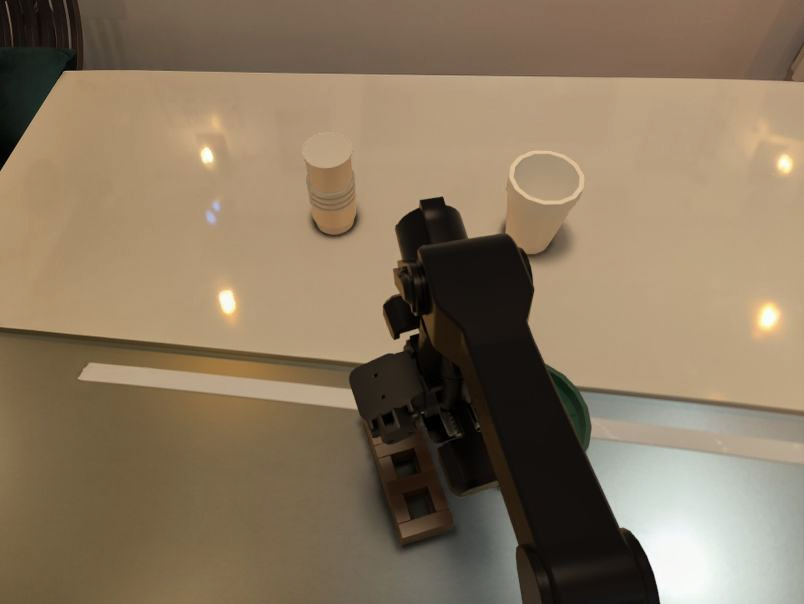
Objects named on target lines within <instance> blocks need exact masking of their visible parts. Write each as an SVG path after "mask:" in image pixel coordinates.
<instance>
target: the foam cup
mask: <svg viewBox="0 0 804 604" xmlns="http://www.w3.org/2000/svg"><path fill="white" fill-rule="evenodd" d="M507 175H508V176H507V181H506V186H505V190H506V192H507V193H506V194H507V195H506V214H505V215H506V216H505V217H506V218H505V231H504V232H505V233H504V234H508V235H509V236H511V237H512V238H513V239H514V241H515V243H516V244H517V246H518V247H521V248H522V249H523V250H524V251H525V252H526V254H527V255H537V254H540V253H541V252H544V251H545V250H546V249H547V247H548V246H549V245H550V243H551V242H552V240H553V239H554V237H555V236H556V234H557V232H558V231H559V229H560V228H561V227H562V224H563V223H564V221H565V220H566V219H567V217H568V216H569V213H570V212H571V211H572V210H573V208H574V207H575V206H576V204H577V203H579V201H580V199H581V196H582V194H583V191H584V188H585V175H584V172H583V171H582V169H581V168H580V166H579V164H578V163H577V162H575V161H574V160H572V159H571V158H570V157H568V156H567V155H565V154H562V153H559V152H555V151H553V150H552V151H551V150H531V151H529V152H526V153H523V154H520V155H519V156H518V157H517V158H516V159H515V160H514V161H513V162H512V163H511V164H510V167H509V171H508V174H507Z"/></svg>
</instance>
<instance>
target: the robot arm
mask: <svg viewBox="0 0 804 604" xmlns="http://www.w3.org/2000/svg"><path fill="white" fill-rule="evenodd" d="M418 202H419V204H418V207H417V208H415V209H413V210H411V211H409V212H408V213H406V214H405V215H404V216H402V218H401V219H400V220H399V221H398V223H396V224H395V226H394V233H395V235H396V241H397V244H398V248H399V253H400V257H401V259H399V260H397V267H394V268H392V273H393V280H394V286H395V287H396V289H397V291H398V292H399V293H397V294H393V295H391V296H390V297H389V298H388V299H386V300H385V301H384V303H383V304H382V316H383V319H384V321H385V323H386V327H387V330H388V332H389V334H390V337H391V339H392V340H393V341H396V340H400V339H401V334H405V333H409V332H412V331H415V330H418V333H414V334H411V335H409V339H406V340H405V344H404V345H403V348H402V351H399V352H396V353H392V352H388V353H385V354H383V355H381V356H379V357H376V358H374V359H372V360H370V361H368V362H366V363H363V364H361V365H359V366H356V367H355V368H354V369H352V370H351V371H350V373H349V375H348V383H349V386H350V390H351V392H352V396H353V399H354V402H355V405H356V408H357V411H358V414H359V416H360V418H361V419H363V421H364V420H366V421H367V424H368V427H369V430H370V433H371V436H372V438H378V437H381V440H382V442H383V443H385V444H387V445H392V444H395V443H397V442H400V441H402V440H405V439H407V438H409V437H412V436H414V435H415V434H416V433H417V432H418V429H417V426H416V422H417V420H418V421H419V420H421V419H422V421H423V424H424V427H425V430H426V432H428V435H429V437H430V439H431V440H430V439H429V440H430V441H431V442H432V443H435V444H441V445H440V446H438V447H437V448H436V451H435V452H436V456H437V460H438V464H439V467H440V469H441V472H442V475H443V477H444V480H445V483H446V486H447V488H448V490H449V494H450V495H452V496H454V497H456V498H458V499H462V498H466V497H468V496H471V495H474V494H477V493H481V492H483V491H487V490H489V489H490V490H491V489H493V488H496V487H499V491H500V493H501V496H502V499H503V502H504V505H505V509H506V512H507V514H508V517H509V520H510V524H511V526H512V530H513V533H514V536H515V540H516V542H517V546H516V547H515V564H516V565H515V566H516V571H517V572H516V573H517V577H518V578H517V579H518V585H519V590H520V591H519V592H520V597H521V603H522V604H661V598H660V593H659V588H658V584H657V580H656V576H655V572H654V570H653V567H652V565H651V563H650V560H649V557H648V555H647V553H646V551H645V548H643V545H642V544H641V542H640V541H639V539H638V538H637V537H636V536H635V534H634V533H633V532H632V531H631V530H630V529H627V528H626V527H623V526H622V527H620V524H619V523H618V520H617V518H616V516H615V514H614V512H613V509H612V507H611V505H610V503H609V500H608V498H607V496H606V493H605V492H604V489H603V486H602V485H601V483H600V481H599V477H598V476H597V474H596V471H595V470H594V468H593V466H592V463H591V461H590V459H589V456H588V454H587V451H586V452H585V450H584V448H583V445H582V443H581V441H580V439H579V437H578V434H577V432H576V430H575V428H574V426H573V424H572V421H571V419H570V417H569V415H568V413H567V410H566V408H565V406H564V404H563V402H562V399H561V397H560V395H559V393H558V391H557V388H556V386H555V384H554V382H553V380H552V377H551V375H550V373H549V371H548V369H547V366H546V364H547V363H546V362H545V360H544V357H543V356H542V353H541V351H540V349H539V346H538V345H537V343H536V340H535V337H534V335H533V332H532V329H531V327H530V324H529V322H530V316H531V310H532V307H533V301H534V296H535V295H534V294H535V286H534V276H533V275H534V274H533V270H532V265H531V261H530V259H529V256H528V254H526V252H525V251H524V250H523V249H522V248H521V247H518V246H517V244H516V243H515V241H514V239H513V238H512V237H511V236H509V235H508V234H505V233H495V234H489V235H482V236H477V237H470V238H469V235H468V233H467V230H466V226H465V224H464V221H463V218H462V215H461V213H460V211H459V210H458V209H457V208H455V207H453V206H451V205H447V204H446V201H445V197H444V196H435V197H430V198H424V199H423V198H422V199H419V201H418ZM428 435H427V436H428Z"/></svg>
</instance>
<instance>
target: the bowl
mask: <svg viewBox="0 0 804 604" xmlns="http://www.w3.org/2000/svg"><path fill="white" fill-rule="evenodd" d="M545 364H546V366H547V369H548V371H549V373H550V375H551V377H552V380H553V382H554V384H555V386H556V388H557V391H558V393H559V395H560V397H561V399H562V402H563V404H564V406H565V408H566V410H567V413H568V415H569V417H570V419H571V421H572V424H573V426H574V428H575V430H576V432H577V434H578V437H579V439H580V441H581V443H582V445H583V448H584V450H585V452H586V453H587V450H588V449H589V447H590V444H591V435H592V429H593V428H592V427H593V425H592V421H591V415H590V411H589V407H588V405H587V403H586V401H585V399H584V397H583V395H582V394H581V391H580V390H579V388H578V387H577V386H576V385H575V384H574V383H573V382H572V381H571V380H570V379H569V378H568V377H567V376H566V375H565V374H564V373H562V372H561V371H558V370H557V369H556V368H554V367H552V366H551V365H549V364H548V363H545Z"/></svg>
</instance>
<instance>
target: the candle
mask: <svg viewBox="0 0 804 604" xmlns="http://www.w3.org/2000/svg"><path fill="white" fill-rule="evenodd" d="M353 151H354V150H353V144H352V142H351V140H350V139H349V138H348V137H347V136H346V135H344V134H342V133H339V132H336V131H322V132H319V133H315V134H314V135H311V136H309V138H308V139H306V141H305V142H304V143H303V146H302V148H301V156H302V158H303V161H304V162H305V168H306V177H305V180H306V188H307V194H308V200H309V203H310V206H311V216H312V218H313V220H314V221H315V224H316V226H317V228H318V229H319V231H321V232H323V233H325V234H327V235H333V236H335V235H341V234H344V233H346V232H347V231H349V230H350V229H351V228H352V227H353V225H354V223H355V217H356V215H357V204H356V197H357V192H356V178H355V177H356V175H355V172H354V170H353V167H352V166H353V165H352V155H353Z"/></svg>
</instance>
